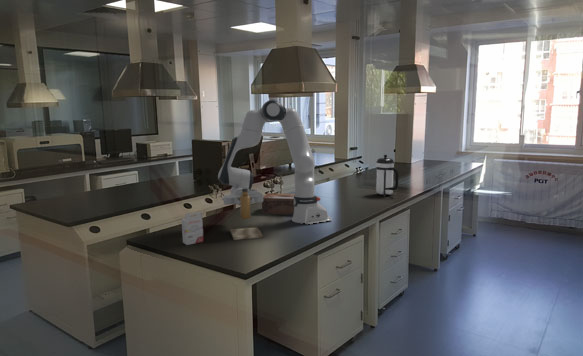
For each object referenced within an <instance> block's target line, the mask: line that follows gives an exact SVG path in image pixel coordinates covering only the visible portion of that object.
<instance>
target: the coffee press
mask: <svg viewBox="0 0 583 356" xmlns="http://www.w3.org/2000/svg"><path fill="white" fill-rule="evenodd" d="M394 165H395V161H394V159H392V158H391V157H388V155H387V154H384V155H383V157H379V158H378V159H377V160H376V172H375V173H376V175H375V177H376V178H375V192H374V193H377V194H379V195H382V196H383V195H385V196H386V195H392V194H395V192H394V191H396V190H397V189H398V187H399V171H398V169H397V168H396V167H395V166H394ZM394 175H395V176H394ZM394 178H395V179H394ZM394 180H395V184H394Z"/></svg>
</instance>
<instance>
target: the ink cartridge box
mask: <svg viewBox="0 0 583 356" xmlns="http://www.w3.org/2000/svg"><path fill="white" fill-rule="evenodd" d="M203 226H204V225H203V216H202V211H195V212H191V213H184V217H183V218H181V233H182V244H185V246H189V245H194V244H198V243H203V242H204V228H203Z"/></svg>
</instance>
